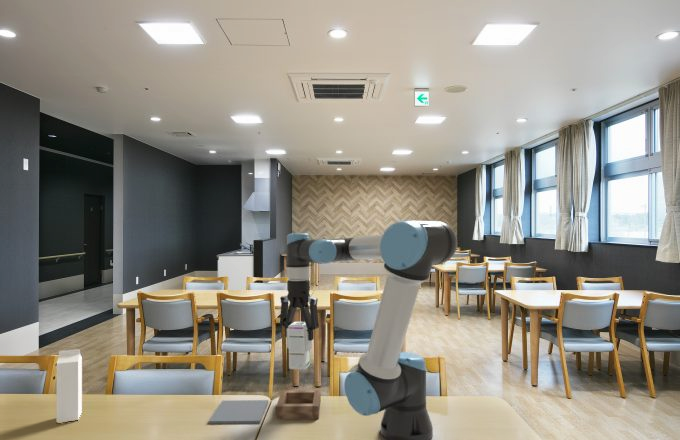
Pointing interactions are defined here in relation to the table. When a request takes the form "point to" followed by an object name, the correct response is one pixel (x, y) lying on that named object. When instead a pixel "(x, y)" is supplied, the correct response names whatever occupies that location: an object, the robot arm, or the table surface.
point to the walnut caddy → (298, 404)
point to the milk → (69, 385)
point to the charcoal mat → (239, 412)
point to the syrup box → (298, 346)
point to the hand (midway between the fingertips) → (299, 348)
